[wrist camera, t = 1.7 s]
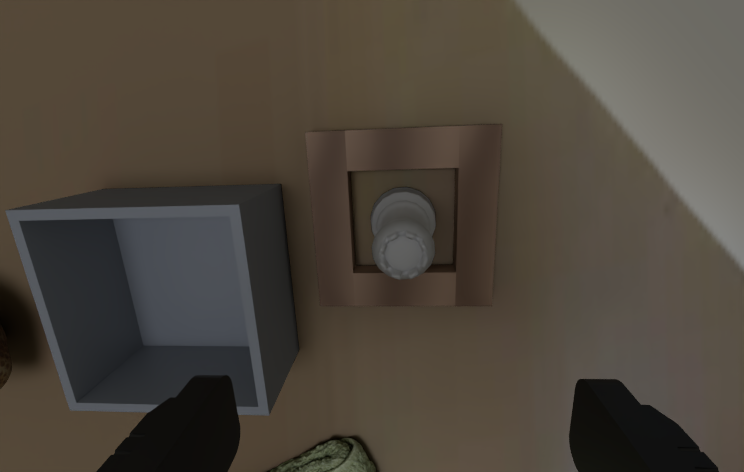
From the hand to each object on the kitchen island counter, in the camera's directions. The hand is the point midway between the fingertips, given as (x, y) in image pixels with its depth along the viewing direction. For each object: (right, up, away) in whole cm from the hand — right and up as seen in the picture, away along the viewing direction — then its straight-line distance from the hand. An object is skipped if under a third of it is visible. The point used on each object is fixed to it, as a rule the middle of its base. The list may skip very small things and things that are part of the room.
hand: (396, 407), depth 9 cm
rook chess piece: (+2, +5, +17) cm, 18 cm away
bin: (-13, +1, +20) cm, 24 cm away
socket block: (+2, +5, +17) cm, 18 cm away
